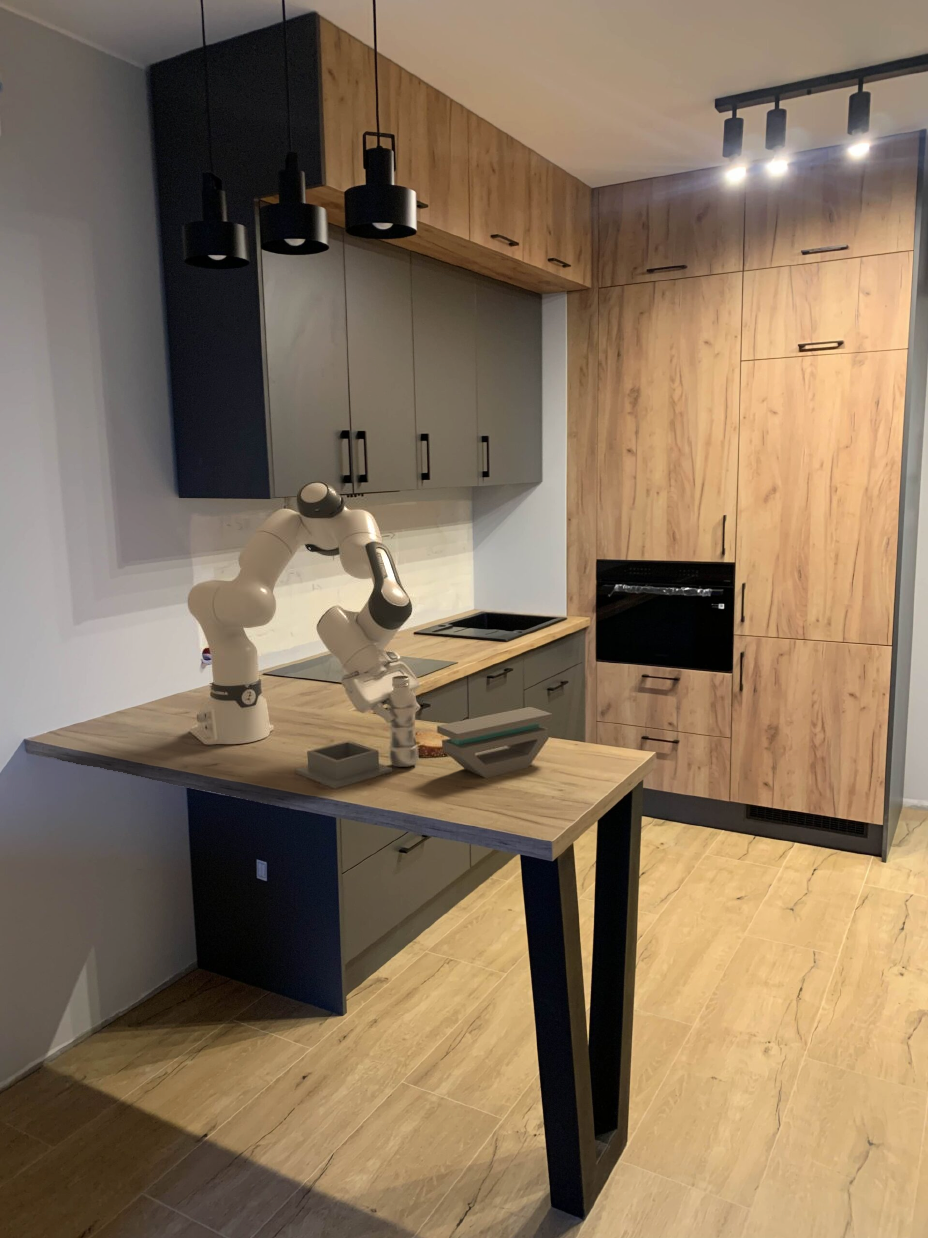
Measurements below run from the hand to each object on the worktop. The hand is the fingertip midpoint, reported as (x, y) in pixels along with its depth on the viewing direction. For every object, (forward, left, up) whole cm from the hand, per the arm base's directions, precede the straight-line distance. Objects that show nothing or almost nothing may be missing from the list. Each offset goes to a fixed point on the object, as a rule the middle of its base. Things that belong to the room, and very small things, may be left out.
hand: (404, 715), depth 204 cm
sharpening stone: (+15, +13, -12) cm, 23 cm away
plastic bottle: (-1, 0, -12) cm, 12 cm away
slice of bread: (-5, +15, -12) cm, 20 cm away
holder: (-7, -12, -11) cm, 18 cm away
